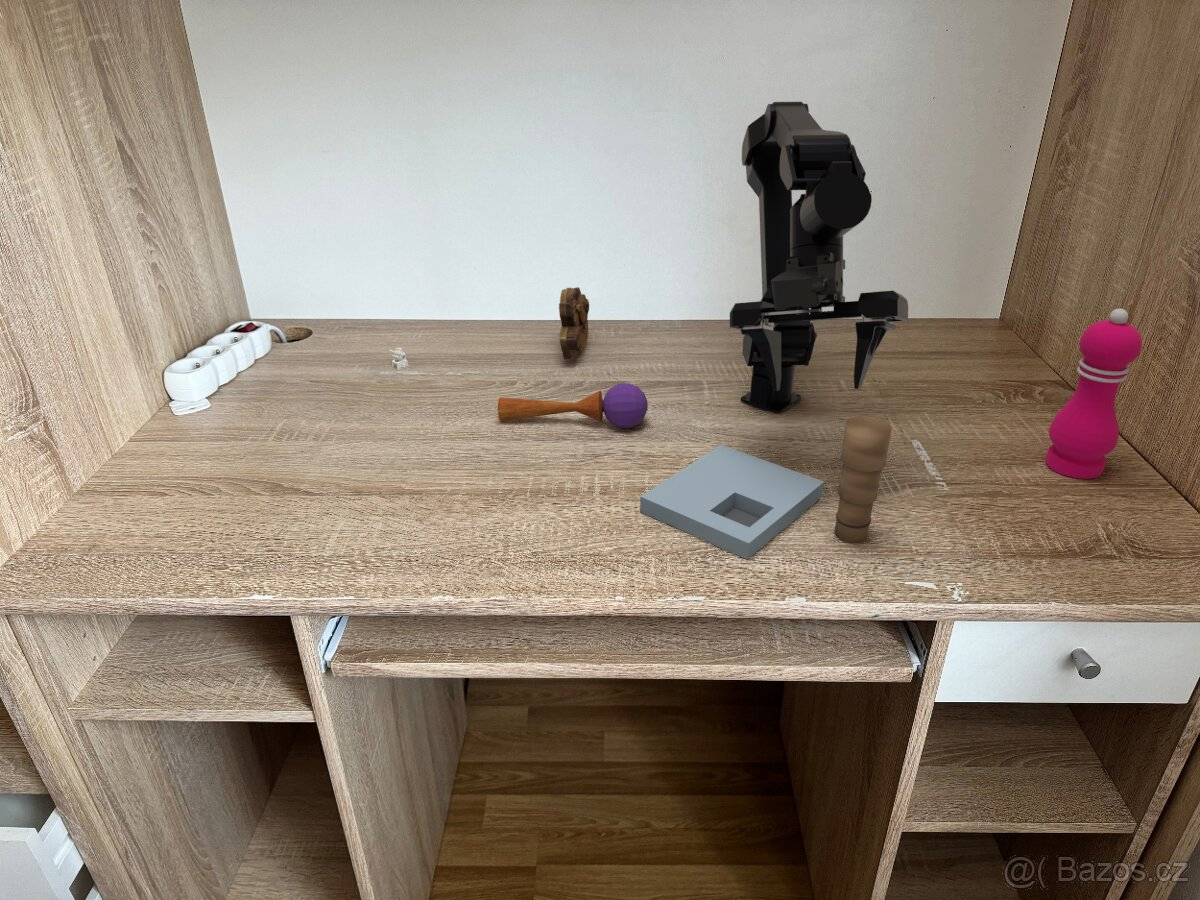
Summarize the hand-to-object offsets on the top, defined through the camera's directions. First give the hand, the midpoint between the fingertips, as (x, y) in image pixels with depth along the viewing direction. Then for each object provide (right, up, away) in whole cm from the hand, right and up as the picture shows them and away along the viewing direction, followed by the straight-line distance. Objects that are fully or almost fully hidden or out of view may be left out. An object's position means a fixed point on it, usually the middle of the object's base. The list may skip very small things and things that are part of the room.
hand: (815, 389), depth 93 cm
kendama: (-28, -3, +20) cm, 35 cm away
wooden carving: (-28, +10, +44) cm, 53 cm away
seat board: (-9, -13, +1) cm, 16 cm away
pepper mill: (+33, -9, +8) cm, 36 cm away
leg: (+2, -16, -5) cm, 17 cm away
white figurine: (-57, +6, +38) cm, 69 cm away
